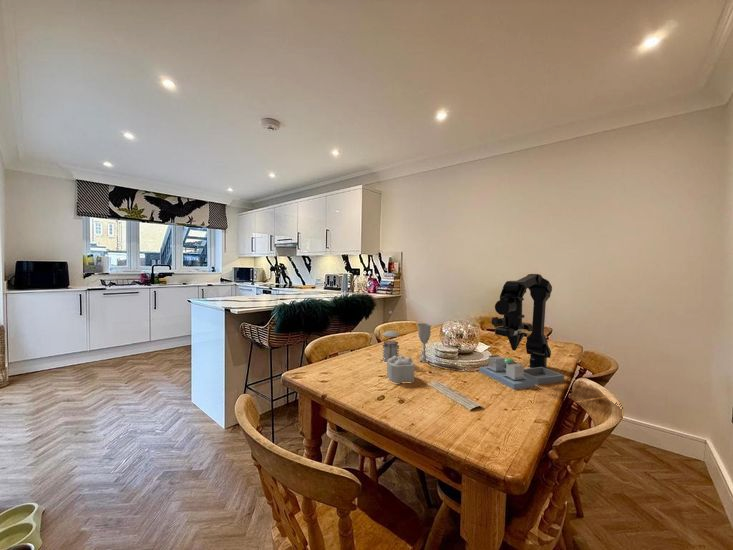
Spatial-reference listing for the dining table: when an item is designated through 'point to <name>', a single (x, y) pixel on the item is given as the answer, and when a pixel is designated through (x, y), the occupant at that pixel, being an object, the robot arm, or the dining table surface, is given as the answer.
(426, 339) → the chalice
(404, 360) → the fruit punnet
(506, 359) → the button
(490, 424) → the dining table surface
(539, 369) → the tray
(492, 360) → the block
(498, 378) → the pallet
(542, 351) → the robot arm
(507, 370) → the block
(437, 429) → the dining table surface
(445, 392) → the grooved grey strip
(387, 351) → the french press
